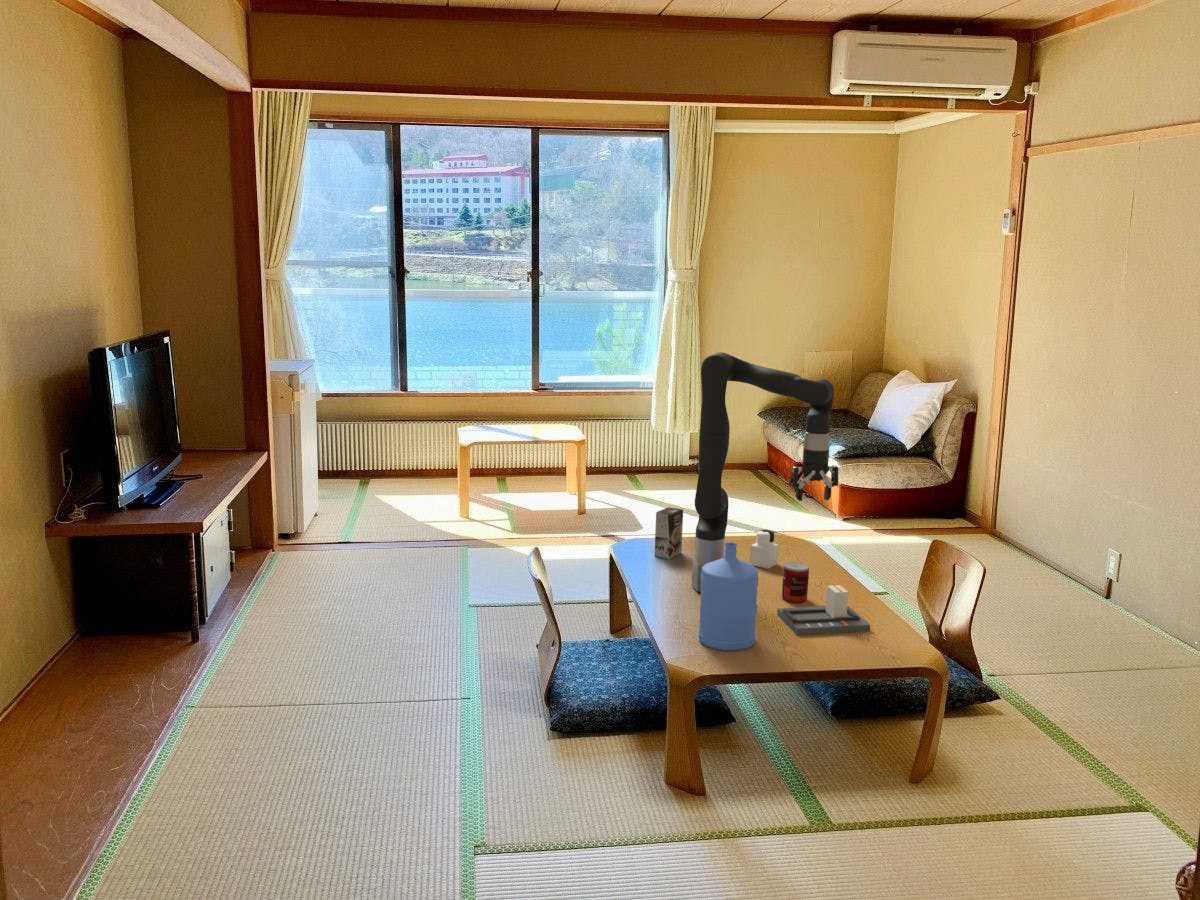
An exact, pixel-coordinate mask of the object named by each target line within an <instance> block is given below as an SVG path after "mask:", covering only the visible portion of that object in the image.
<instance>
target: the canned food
mask: <svg viewBox="0 0 1200 900" xmlns="http://www.w3.org/2000/svg"><path fill="white" fill-rule="evenodd" d="M782 568H783V569H782V571H783V572H782V584H781V585H782V587H781V597H782V598H781V599H782V600H783V601H785V602H787V603H790V604H804V603H805V602H806V601H807V600H808V593H809V579H810V577H809V575H810V566H809V565H808V564H806V563H804V562H799V561H787V562H785V563H784V564H783V567H782Z"/></svg>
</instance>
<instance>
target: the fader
mask: <svg viewBox="0 0 1200 900" xmlns="http://www.w3.org/2000/svg"><path fill="white" fill-rule="evenodd" d="M825 599H826V600H825V606H826V609H825V612H827V613H828V614H829V615H830V616H831V617H832V618H836V617H847V605H848V603H849V591H848V590H847V589H846V588H844V587H843V586H842V585H840V584H834V585H833V584H831V585H827V586H826V597H825ZM848 606H849V605H848Z"/></svg>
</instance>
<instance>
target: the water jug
mask: <svg viewBox="0 0 1200 900" xmlns="http://www.w3.org/2000/svg"><path fill="white" fill-rule="evenodd" d="M737 547H738V544H737V543H735V542H726V543H725V548H724V558H722V559H719V560H716V561H713V562H709V563H707V564H705V565H704V566H703V567H702V573H701V592H700V605H699V612H700V613H699V626H698V627H699V628H698V639H699V641H700V642H701V643H702V644H703V645H705V646H706V647H709V648H711V649H714V650H717V651H718V650H719V651H725V652H727V651H729V652H735V651H742V650H746V649H748V648H751V647H752V646H753V645H754V644H755V642H756V623H757V622H756V619H757V612H758V606H757V604H758V603H757V601H758V600H757V599H758V586H759V571H758V569H757V568H756V566H753V565H750V563H748V562H745V561H743V560H741V559H739V558H737V551H738V550H737Z"/></svg>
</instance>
